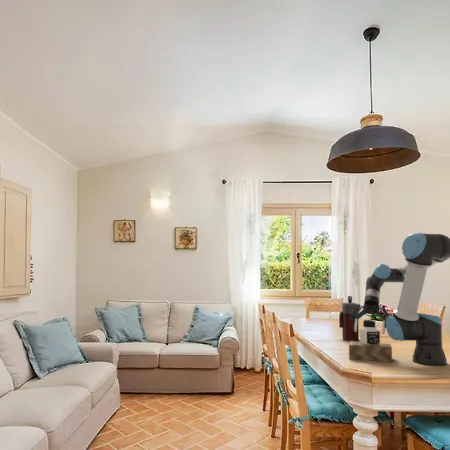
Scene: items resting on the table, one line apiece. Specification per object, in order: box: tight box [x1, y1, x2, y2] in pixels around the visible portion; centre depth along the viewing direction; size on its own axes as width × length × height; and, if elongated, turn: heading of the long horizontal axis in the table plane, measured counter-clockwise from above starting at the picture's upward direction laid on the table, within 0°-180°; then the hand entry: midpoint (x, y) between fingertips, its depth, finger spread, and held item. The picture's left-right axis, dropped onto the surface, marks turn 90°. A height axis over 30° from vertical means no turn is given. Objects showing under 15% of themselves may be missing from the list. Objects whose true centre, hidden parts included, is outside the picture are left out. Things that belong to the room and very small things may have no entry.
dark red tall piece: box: [338, 295, 360, 342], centre depth 281 cm, size 9×11×28 cm
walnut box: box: [348, 341, 393, 363], centre depth 218 cm, size 20×12×7 cm, turn 72°
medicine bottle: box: [359, 319, 381, 345], centre depth 219 cm, size 7×7×12 cm
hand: (369, 331), depth 217 cm, fingers open, 13 cm apart
